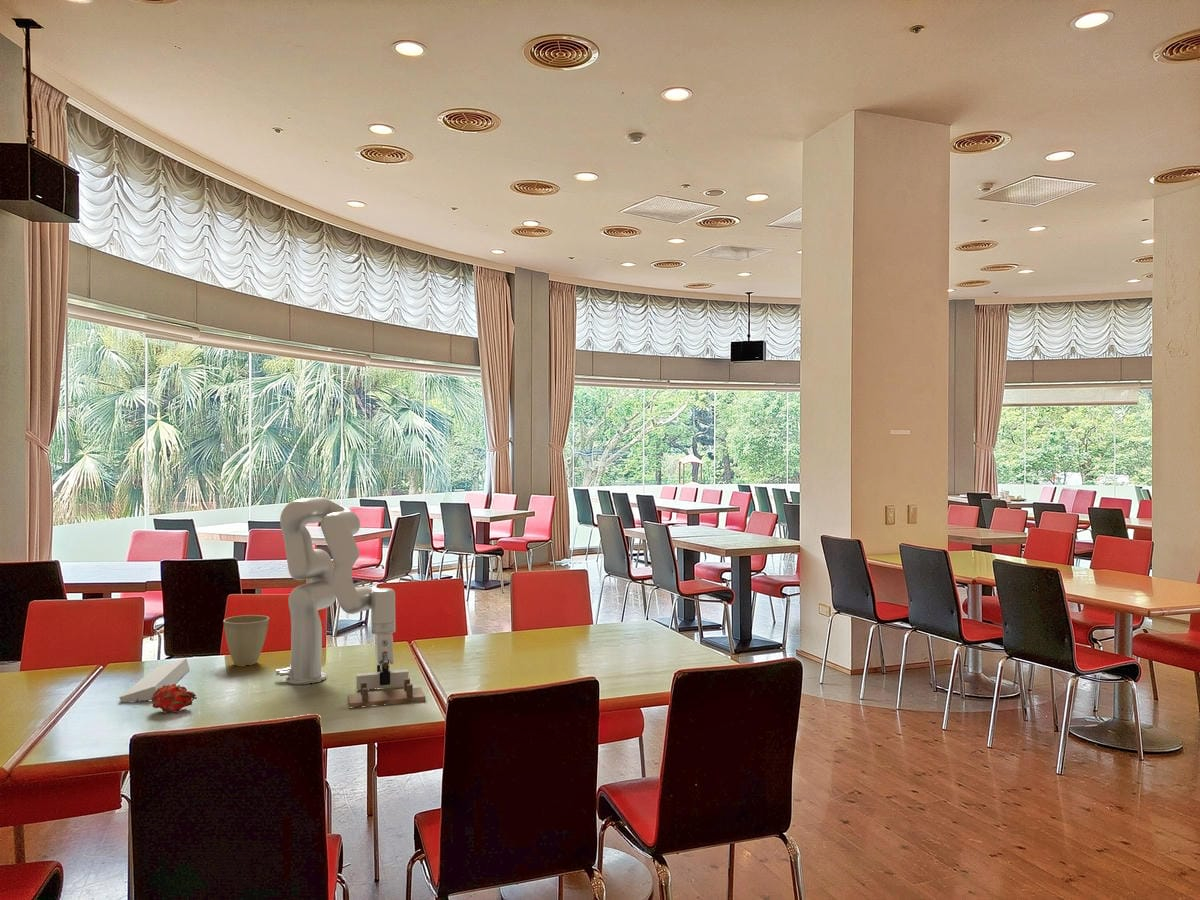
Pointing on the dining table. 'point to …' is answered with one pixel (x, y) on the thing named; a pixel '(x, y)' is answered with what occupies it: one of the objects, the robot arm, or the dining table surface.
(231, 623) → the plant pot
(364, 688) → the plank with four pegs
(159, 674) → the white wedge ramp
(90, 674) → the dining table surface
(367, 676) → the clay strip
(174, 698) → the dragon fruit
